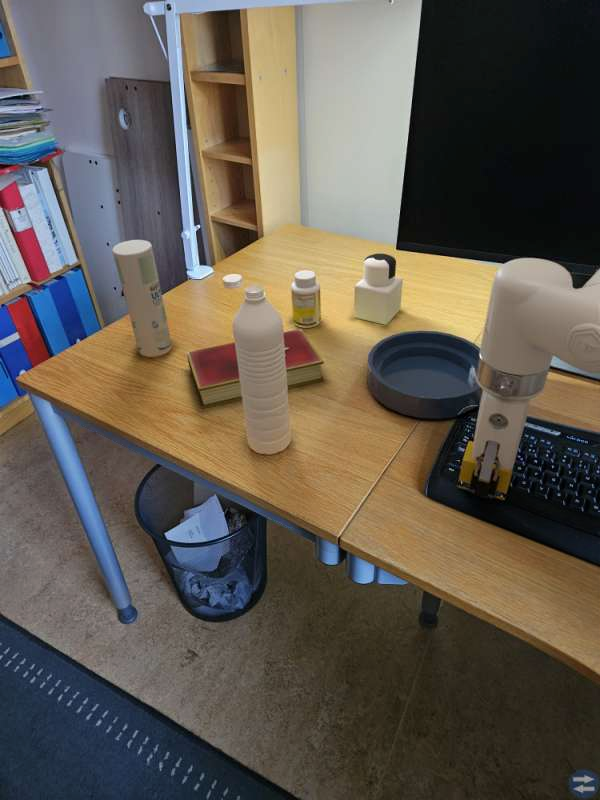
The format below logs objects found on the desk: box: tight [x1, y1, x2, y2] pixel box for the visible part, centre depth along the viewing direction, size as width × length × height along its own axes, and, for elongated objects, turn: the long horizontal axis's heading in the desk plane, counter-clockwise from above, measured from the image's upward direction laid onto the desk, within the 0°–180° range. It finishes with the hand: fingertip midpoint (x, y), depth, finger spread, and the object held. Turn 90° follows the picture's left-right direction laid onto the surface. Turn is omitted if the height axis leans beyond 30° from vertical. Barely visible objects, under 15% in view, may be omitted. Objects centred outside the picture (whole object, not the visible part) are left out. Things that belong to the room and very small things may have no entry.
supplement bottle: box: [290, 269, 322, 329], centre depth 108 cm, size 6×6×10 cm
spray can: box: [112, 239, 173, 358], centre depth 99 cm, size 6×6×20 cm
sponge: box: [457, 440, 514, 501], centre depth 73 cm, size 6×4×5 cm, turn 66°
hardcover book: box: [186, 328, 325, 409], centre depth 96 cm, size 12×21×4 cm, turn 109°
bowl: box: [366, 330, 483, 420], centre depth 92 cm, size 20×20×4 cm
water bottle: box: [222, 273, 292, 455], centre depth 76 cm, size 9×6×25 cm
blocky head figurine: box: [353, 253, 404, 326], centre depth 109 cm, size 7×7×12 cm
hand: (484, 482), depth 74 cm, fingers closed on sponge, 4 cm apart
